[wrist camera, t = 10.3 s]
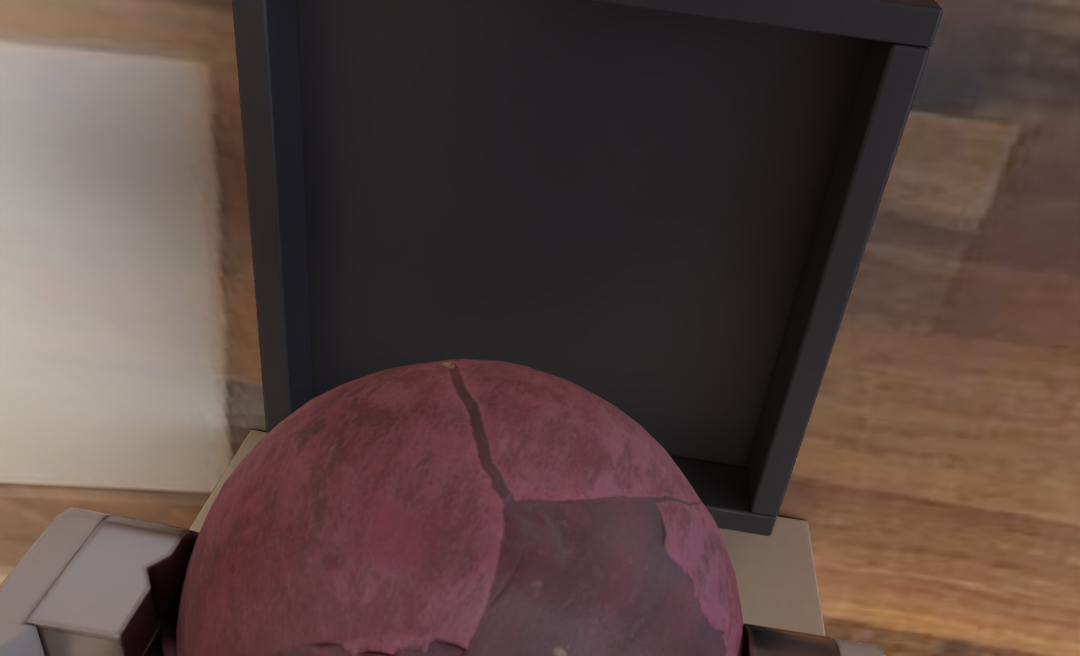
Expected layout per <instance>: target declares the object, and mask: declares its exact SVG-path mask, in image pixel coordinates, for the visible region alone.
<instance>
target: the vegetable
mask: <svg viewBox="0 0 1080 656" xmlns="http://www.w3.org/2000/svg"><path fill="white" fill-rule="evenodd" d="M743 643H744V634H743V617H742V611H741V604H740V598H739V593H738V587H737V581H736V575H735V571H734V568H733V565H732V563H731V560H730V557H729V554H728V551H727V548H726V546H725V543H724V540H723V537H722V535H721V533H720V531H719V529H718V527H717V524H716V522H715V520H714V518H713V517H712V515H711V514H710V512H709V511H708V510H707V508H706V507H705V505H704V504H703V503H702V501H701V500H700V498H699V497H698V495H697V494H696V492H695V490H694V489H693V487H692V486H691V484H690V483H689V481H688V480H687V478H686V477H685V476H684V474H683V473H682V471H681V470H680V469H679V467H678V466H677V465H676V463H675V462H674V461H673V459H672V458H671V457H670V455H669V454H668V453H667V451H666V450H665V449H664V448H663V447H662V446H661V445H660V444H659V443H658V442H657V441H656V440H655V439H654V438H653V437H652V436H651V435H650V434H649V433H648V432H647V431H646V430H645V429H644V428H643V427H642V426H641V425H640V424H638V423H637V422H636V421H634V420H633V419H632V418H630V417H629V416H628V415H626V414H625V413H624V412H622V411H621V410H620V409H618V408H617V407H615V406H614V405H612V404H611V403H609V402H608V401H606V400H604V399H602V398H601V397H599V396H597V395H595V394H593V393H591V392H590V391H588V390H586V389H584V388H582V387H580V386H578V385H576V384H574V383H572V382H570V381H568V380H566V379H564V378H561V377H558V376H555V375H552V374H548V373H545V372H542V371H539V370H536V369H533V368H530V367H526V366H523V365H519V364H514V363H509V362H504V361H490V360H472V359H450V360H443V361H435V362H428V363H420V364H413V365H406V366H399V367H395V368H391V369H387V370H382V371H379V372H376V373H373V374H370V375H367V376H365V377H362V378H359V379H356V380H353V381H351V382H348V383H345V384H342V385H340V386H338V387H336V388H334V389H332V390H330V391H328V392H326V393H324V394H322V395H320V396H318V397H316V398H314V399H312V400H310V401H308V402H307V403H306V404H304V405H303V406H302V407H300V408H299V409H298V410H296V411H295V412H294V413H292V414H291V415H290V416H288V417H287V418H286V419H284V420H283V421H282V422H280V423H279V424H278V425H277V426H276V427H275V428H273V429H272V430H271V431H270V432H269V433H268V434H267V435H266V436H265V437H264V438H263V439H262V440H261V441H259V443H258V444H257V445H256V446H255V447H254V448H253V449H252V450H251V451H250V452H249V453H248V454H247V456H246V457H245V458H244V459H243V460H242V461H241V462H240V463H239V465H238V466H237V467H236V468H235V470H234V471H233V472H232V474H231V475H230V476H229V478H228V479H227V480H226V481H225V483H224V484H223V486H222V488H221V490H220V492H219V493H218V495H217V497H216V499H215V501H214V502H213V504H212V506H211V508H210V510H209V512H208V514H207V517H206V519H205V521H204V523H203V526H202V528H201V530H200V532H199V535H198V537H197V539H196V542H195V545H194V548H193V551H192V554H191V557H190V560H189V563H188V566H187V571H186V575H185V580H184V584H183V589H182V593H181V598H180V605H179V612H178V620H177V627H176V652H177V656H742V653H743Z"/></svg>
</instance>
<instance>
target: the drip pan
mask: <svg viewBox="0 0 1080 656" xmlns="http://www.w3.org/2000/svg"><path fill="white" fill-rule="evenodd" d="M232 5H233V17H234V30H235V42H236V55H237V68H238V80H239V93H240V105H241V118H242V131H243V143H244V156H245V168H246V181H247V194H248V206H249V219H250V231H251V244H252V257H253V269H254V282H255V294H256V307H257V320H258V332H259V345H260V357H261V370H262V383H263V395H264V408H265V420H266V431H267V432H268V433H269V432H270V431H271V430H272V429H273V428H275V427H276V426H277V425H278V424H279V423H280V422H282V421H283V420H284V419H286V418H287V417H288V416H290V415H291V414H292V413H294V412H295V411H296V410H298V409H299V408H300V407H302V406H303V405H304V404H306V403H307V402H308V401H310V400H312V399H314V398H316V397H318V396H320V395H322V394H324V393H326V392H328V391H330V390H332V389H334V388H336V387H338V386H340V385H342V384H345V383H348V382H351V381H353V380H356V379H359V378H362V377H365V376H367V375H370V374H373V373H376V372H379V371H382V370H387V369H391V368H395V367H399V366H406V365H413V364H420V363H428V362H435V361H443V360H450V359H472V360H490V361H504V362H509V363H514V364H519V365H523V366H526V367H530V368H533V369H536V370H539V371H542V372H545V373H548V374H552V375H555V376H558V377H561V378H564V379H566V380H568V381H570V382H572V383H574V384H576V385H578V386H580V387H582V388H584V389H586V390H588V391H590V392H591V393H593V394H595V395H597V396H599V397H601V398H602V399H604V400H606V401H608V402H609V403H611V404H612V405H614V406H615V407H617V408H618V409H620V410H621V411H622V412H624V413H625V414H626V415H628V416H629V417H630V418H632V419H633V420H634V421H636V422H637V423H638V424H640V425H641V426H642V427H643V428H644V429H645V430H646V431H647V432H648V433H649V434H650V435H651V436H652V437H653V438H654V439H655V440H656V441H657V442H658V443H659V444H660V445H661V446H662V447H663V448H664V449H665V450H666V451H667V453H668V454H669V455H670V457H671V458H672V459H673V461H674V462H675V463H676V465H677V466H678V467H679V469H680V470H681V471H682V473H683V474H684V476H685V477H686V478H687V480H688V481H689V483H690V484H691V486H692V487H693V489H694V490H695V492H696V494H697V495H698V497H699V498H700V500H701V501H702V503H703V504H704V505H705V507H706V508H707V510H708V511H709V512H710V514H711V515H712V517H713V518H714V520H715V522H716V524H717V527H718V528H721V529H727V530H733V531H739V532H745V533H751V534H757V535H763V536H770V535H771V534H772V531H773V528H774V525H775V522H776V519H777V515H778V513H779V510H780V507H781V504H782V501H783V498H784V495H785V491H786V488H787V485H788V482H789V479H790V476H791V473H792V470H793V467H794V464H795V461H796V458H797V455H798V452H799V449H800V446H801V443H802V440H803V436H804V433H805V430H806V427H807V424H808V421H809V418H810V415H811V412H812V409H813V406H814V403H815V400H816V397H817V394H818V391H819V388H820V384H821V381H822V378H823V375H824V372H825V369H826V366H827V363H828V360H829V357H830V354H831V351H832V348H833V345H834V342H835V339H836V336H837V332H838V329H839V326H840V323H841V320H842V317H843V314H844V311H845V308H846V305H847V302H848V299H849V296H850V293H851V290H852V287H853V284H854V281H855V277H856V274H857V271H858V268H859V265H860V262H861V259H862V256H863V253H864V250H865V247H866V244H867V241H868V238H869V235H870V232H871V229H872V225H873V222H874V219H875V216H876V213H877V210H878V207H879V204H880V201H881V198H882V195H883V192H884V189H885V186H886V183H887V180H888V177H889V173H890V170H891V167H892V164H893V161H894V158H895V155H896V152H897V149H898V146H899V143H900V140H901V137H902V134H903V131H904V128H905V125H906V121H907V118H908V115H909V112H910V109H911V106H912V103H913V100H914V97H915V94H916V91H917V88H918V85H919V82H920V79H921V76H922V73H923V70H924V66H925V63H926V60H927V57H928V54H929V48H928V47H930V46H931V45H932V43H933V40H934V37H935V34H936V31H937V28H938V25H939V22H940V19H941V16H942V13H943V11H942V8H941V7H940V6H939V5H938V4H937V3H936V2H935V1H934V0H232ZM268 433H267V434H268Z"/></svg>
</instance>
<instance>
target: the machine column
mask: <svg viewBox="0 0 1080 656" xmlns="http://www.w3.org/2000/svg"><path fill="white" fill-rule="evenodd" d="M267 433H268V432H262V431H255V430H250V432H249V434H248V435H247V437H246V438H245V440H244V442H243V443H242V445H241V446H240V448H239V450H238V451H237V453H236V454H235V456H234V458H233V459H232V461H231V462H230V464H229V466H228V467H227V469H226V470H225V472H224V474H223V475H222V477H221V479H220V480H219V482H218V483H217V485H216V487H215V488H214V490H213V491H212V493H211V495H210V496H209V498H208V499H207V501H206V503H205V504H204V506H203V507H202V509H201V511H200V512H199V514H198V515H197V517H196V519H195V520H194V522H193V524H192V525H191V527H190V528H189V530H193V531H196V532H200V530H201V528H202V526H203V523H204V521H205V519H206V517H207V514H208V512H209V510H210V508H211V506H212V504H213V502H214V501H215V499H216V497H217V495H218V493H219V492H220V490H221V488H222V486H223V484H224V483H225V481H226V480H227V479H228V478H229V476H230V475H231V474H232V472H233V471H234V470H235V468H236V467H237V466H238V465H239V463H240V462H241V461H242V460H243V459H244V458H245V457H246V456H247V454H248V453H249V452H250V451H251V450H252V449H253V448H254V447H255V446H256V445H257V444H258V443H259V441H261V440H262V439H263V438H264V437H265V436H266V435H267ZM718 529H719V531H720V533H721V535H722V537H723V540H724V543H725V546H726V548H727V551H728V554H729V557H730V560H731V563H732V565H733V568H734V571H735V575H736V581H737V587H738V593H739V598H740V604H741V611H742V617H743V624H744V623H745V624H751V625H757V626H764V627H770V628H776V629H783V630H789V631H795V632H802V633H808V634H814V635H821V636H825V631H824V625H823V618H822V612H821V605H820V599H819V592H818V585H817V579H816V572H815V566H814V559H813V553H812V546H811V540H810V533H809V527H808V522H807V521H803V520H797V519H791V518H784V517H778V516H777V519H776V522H775V525H774V528H773V531H772V534H771V535H770V536H763V535H757V534H751V533H745V532H739V531H733V530H727V529H721V528H718Z"/></svg>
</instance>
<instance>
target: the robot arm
mask: <svg viewBox="0 0 1080 656" xmlns="http://www.w3.org/2000/svg"><path fill="white" fill-rule="evenodd" d="M198 535H199V532H196V531H193V530H188V529H183V528H178V527H173V526H168V525H163V524H158V523H153V522H148V521H143V520H138V519H133V518H128V517H123V516H118V515H113V514H112V515H111V514H105V513H100V512H95V511H90V510H84V509H79V508H74V507H70V508H68V509H67V510H65V511H63V512H62V513H60V514H58V515H57V516H56V517H55V518H54V519H53V520H52V522H51V523H50V524H49V525H48V527H47V528H46V529H45V530H44V532H43V533H42V534H41V535H40V537H39V538H38V539H37V540H36V541H35V543H34V544H33V545H32V546H31V548H30V549H29V550H28V551H27V553H26V554H25V555H24V556H23V558H22V559H21V560H20V561H19V562H18V564H17V565H16V566H15V567H14V569H13V570H12V571H11V572H10V574H9V575H8V576H7V577H6V578H5V580H4V581H3V582H2V583H1V585H0V656H177V652H176V627H177V620H178V612H179V605H180V598H181V593H182V589H183V584H184V580H185V575H186V571H187V566H188V563H189V560H190V557H191V554H192V551H193V548H194V545H195V542H196V539H197V537H198ZM743 634H744V643H743V653H742V656H886V655H885V653H884V652H883V650H882V649H881V648H880V646H877V645H871V644H865V643H859V642H853V641H847V640H841V639H835V638H834V639H831V638H830V637H827V636H821V635H814V634H808V633H802V632H795V631H789V630H783V629H776V628H770V627H764V626H757V625H751V624H745V623H744V624H743Z"/></svg>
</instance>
